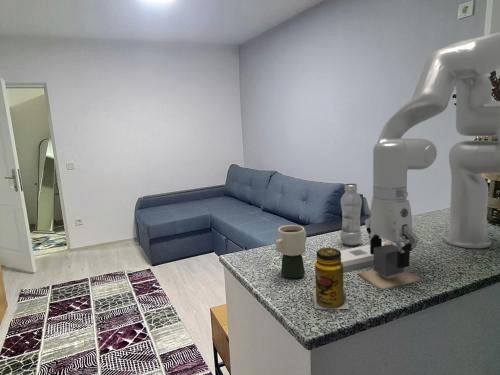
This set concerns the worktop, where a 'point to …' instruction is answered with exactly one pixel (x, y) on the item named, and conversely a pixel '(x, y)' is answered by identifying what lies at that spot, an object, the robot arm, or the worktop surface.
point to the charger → (387, 261)
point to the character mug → (291, 249)
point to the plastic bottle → (351, 215)
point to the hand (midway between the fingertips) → (388, 259)
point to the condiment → (329, 280)
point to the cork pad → (385, 283)
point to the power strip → (357, 257)
